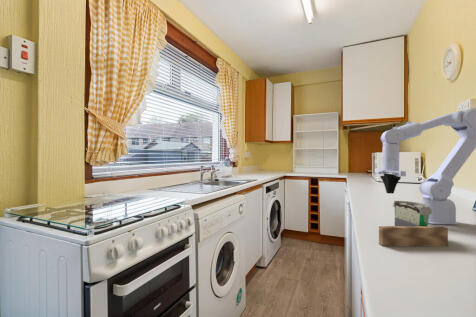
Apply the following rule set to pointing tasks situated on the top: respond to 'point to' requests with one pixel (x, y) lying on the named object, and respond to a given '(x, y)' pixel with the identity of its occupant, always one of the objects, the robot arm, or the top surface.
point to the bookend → (403, 223)
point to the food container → (412, 212)
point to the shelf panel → (413, 236)
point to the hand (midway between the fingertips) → (390, 193)
